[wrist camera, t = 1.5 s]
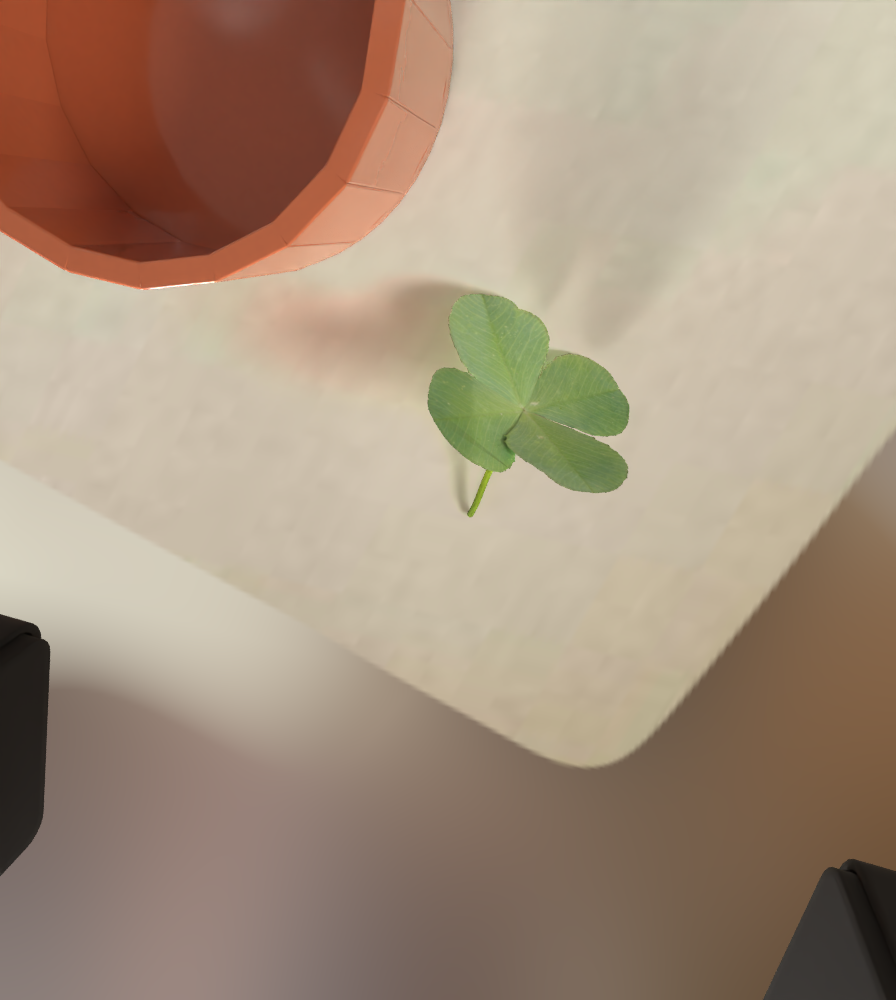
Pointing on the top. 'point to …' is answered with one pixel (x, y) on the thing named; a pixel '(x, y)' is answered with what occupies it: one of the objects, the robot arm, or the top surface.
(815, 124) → the top surface
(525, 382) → the green leafy piece
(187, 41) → the planter
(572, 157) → the top surface
